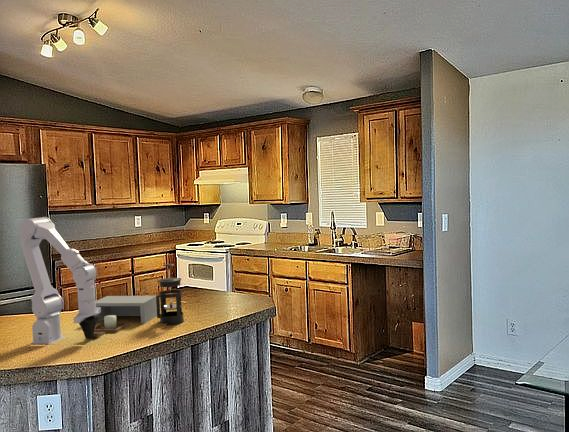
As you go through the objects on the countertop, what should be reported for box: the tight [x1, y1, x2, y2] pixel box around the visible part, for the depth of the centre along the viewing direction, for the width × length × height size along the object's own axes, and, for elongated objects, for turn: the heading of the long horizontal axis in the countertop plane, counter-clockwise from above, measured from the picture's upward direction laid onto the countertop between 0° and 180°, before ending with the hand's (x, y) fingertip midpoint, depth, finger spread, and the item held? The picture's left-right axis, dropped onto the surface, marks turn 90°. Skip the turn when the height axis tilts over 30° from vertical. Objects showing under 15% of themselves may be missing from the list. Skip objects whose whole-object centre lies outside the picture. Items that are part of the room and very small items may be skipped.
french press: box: [155, 263, 185, 326], centre depth 203 cm, size 12×9×23 cm
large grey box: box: [94, 295, 157, 325], centre depth 209 cm, size 13×22×9 cm, turn 81°
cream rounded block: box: [103, 315, 118, 329], centre depth 197 cm, size 4×4×4 cm
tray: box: [91, 322, 130, 340], centre depth 192 cm, size 17×11×2 cm, turn 171°
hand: (89, 338), depth 182 cm, fingers closed
